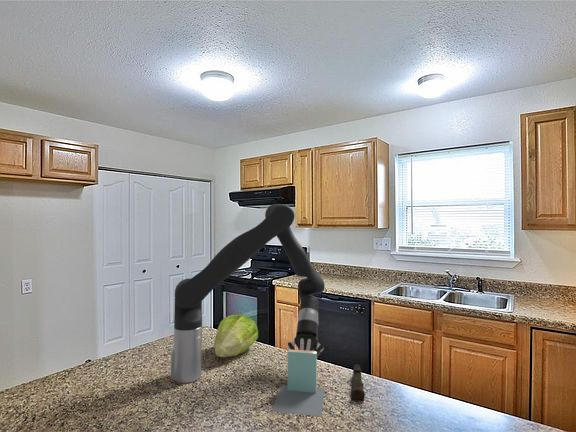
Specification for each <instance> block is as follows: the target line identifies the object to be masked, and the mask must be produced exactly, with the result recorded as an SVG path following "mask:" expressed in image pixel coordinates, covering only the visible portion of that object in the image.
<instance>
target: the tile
mask: <svg viewBox="0 0 576 432" xmlns="http://www.w3.org/2000/svg"><path fill="white" fill-rule="evenodd" d="M287 350H288V351H287V384H286V385H287V390H290V391H301V392H312V393H316V391H317V388H318V387H317V386H318V384H317V382H318V379H317V375H318V373H317V371H318V369H317V368H318V367H317V366H318V360H317V359H318V357H317V351H315V350H313V351H305V350H299V349H295V350H291V349H289V348H288V349H287Z"/></svg>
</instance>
